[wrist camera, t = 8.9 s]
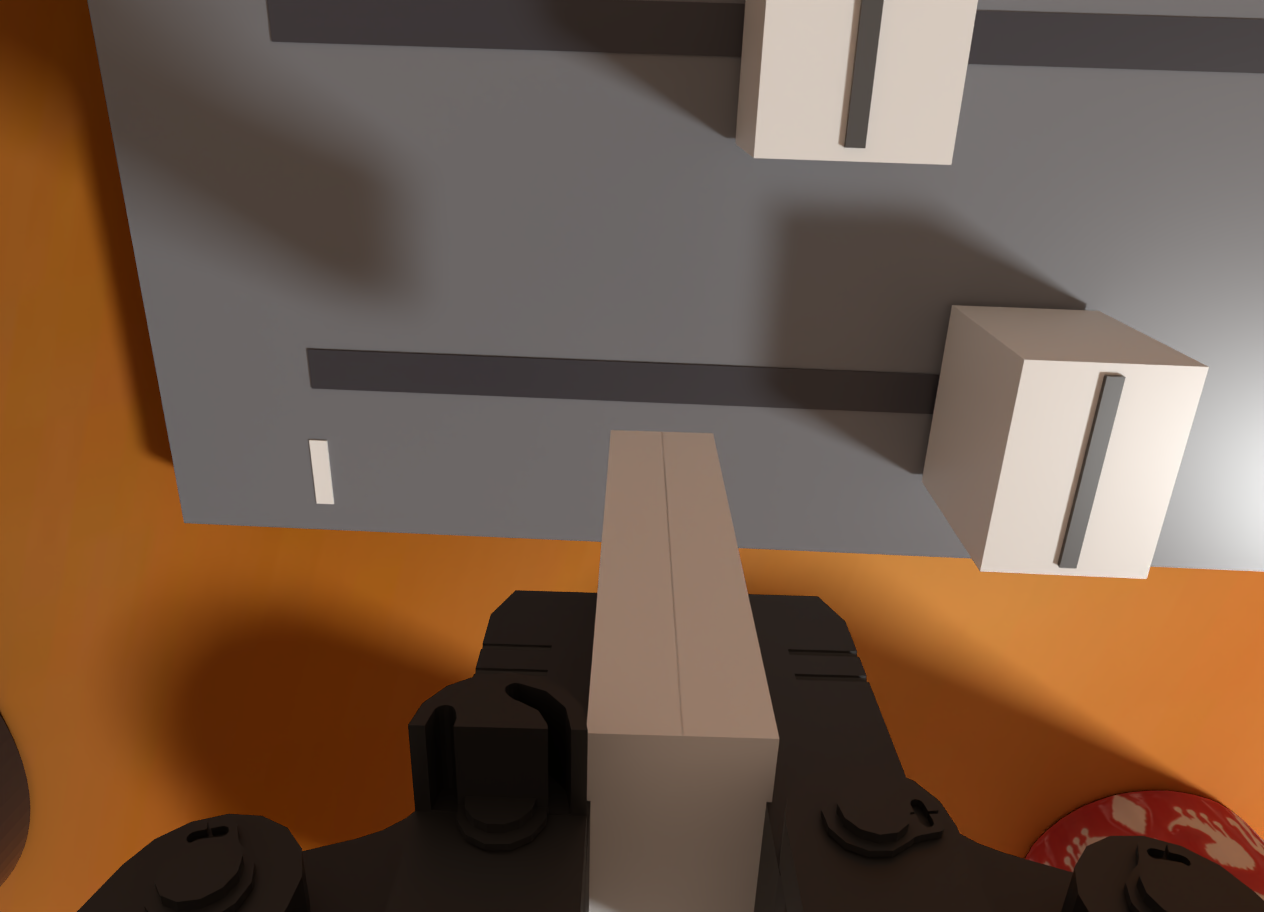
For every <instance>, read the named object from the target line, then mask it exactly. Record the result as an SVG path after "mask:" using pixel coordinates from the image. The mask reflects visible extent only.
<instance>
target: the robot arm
mask: <svg viewBox="0 0 1264 912" xmlns="http://www.w3.org/2000/svg"><path fill="white" fill-rule="evenodd" d="M408 729H409V741H410V753H411V765H412V777H413V789H414V801H415V812H413V813H412V814H411V815H410V816H408V817H407V818H405V819H404V820H402V821H400V822H398V823H396V824H394V825H392V826H390V827H388V828H386V829H384V830H382V831H379V832H376V833H373V834H370V835H367V836H364V837H361V838H357V839H354V840H349V841H345V842H341V843H336V844H332V845H328V846H323V847H319V848H315V849H311V850H306V851H302V848H301V847H300V845H299V844H298V843H297V841H296V840H295V838H294V837H293V835H292V834H291V832H290V831H289V829H288V828H287V827H285V826H282V825H280V824H278V823H276V822H274V821H272V820H270V819H267V818H265V817H263V816H255V815H239V814H226V815H221V816H217V817H212V818H207V819H203V820H198V821H193V822H190V823H188V824H186V825H184V826H182V827H180V828H178V829H175V830H173V831H171V832H169V833H167V834H165V835H163V836H161V837H159V838H156V839H154V840H153V841H152V842H151V843H149V844H148V845H147V846H146V847H144V848H143V849H142V850H141V851H139V852H138V853H137V854H136V855H134V856H133V857H132V858H131V859H129V860H128V861H127V862H126V863H124V864H123V865H122V866H121V867H120V868H119V869H118V870H117V871H116V872H115V873H114V874H113V875H112V876H111V877H110V878H109V879H108V880H107V881H106V882H105V883H104V884H103V885H102V887H101V888H100V889H99V890H98V891H97V892H96V893H95V894H94V895H93V896H92V897H91V898H90V899H89V900H88V901H87V902H86V903H85V904H84V905H83V906H82V907H81V908H80V909H79V910H78V911H77V912H1264V900H1263V899H1262V898H1261V897H1260V896H1259V895H1258V894H1256V893H1255V892H1254V891H1253V890H1252V889H1250V888H1249V887H1248V886H1246V885H1245V884H1244V883H1242V882H1241V881H1240V880H1239V879H1237V878H1236V877H1235V876H1233V875H1232V874H1231V873H1230V872H1228V871H1227V870H1226V869H1224V868H1223V867H1222V866H1220V865H1219V864H1217V863H1215V862H1213V861H1211V860H1209V859H1207V858H1205V857H1203V856H1201V855H1199V854H1197V853H1195V852H1193V851H1191V850H1189V849H1187V848H1185V847H1183V846H1180V845H1176V844H1173V843H1169V842H1165V841H1161V840H1157V839H1154V838H1150V837H1146V836H1109V837H1106V838H1104V839H1102V840H1100V841H1097V842H1095V843H1093V844H1090V845H1088V846H1086V848H1085V850H1084V851H1083V853H1082V855H1081V856H1080V858H1079V860H1078V862H1077V863H1076V865H1075V867H1074V871H1073V872H1070V871H1066V870H1063V869H1059V868H1055V867H1052V866H1048V865H1045V864H1041V863H1038V862H1034V861H1031V860H1027V859H1024V858H1020V857H1016V856H1013V855H1009V854H1006V853H1003V852H1000V851H997V850H995V849H992V848H989V847H986V846H984V845H981V844H978V843H976V842H974V841H973V840H971V839H969V838H967V837H965V836H963V835H962V834H960V833H959V831H958V829H957V826H956V825H955V823H954V822H953V820H952V819H951V817H950V816H949V814H948V813H947V811H946V810H945V808H944V807H943V806H942V804H941V803H940V801H939V800H937V799H936V798H935V797H934V796H932V795H931V794H930V793H928V792H927V791H926V790H925V789H923V788H922V787H921V786H920V785H918V784H917V783H916V782H914V781H913V780H910V779H908V778H906V776H905V774H904V771H903V768H902V766H901V763H900V761H899V758H898V756H897V753H896V750H895V748H894V745H893V743H892V740H891V738H890V735H889V732H888V730H887V727H886V725H885V722H884V720H883V717H882V715H881V712H880V709H879V707H878V704H877V702H876V699H875V697H874V694H873V691H872V689H871V686H870V684H869V682H867V681H866V673H865V671H864V668H863V666H862V663H861V661H860V658H859V657H857V650H856V648H855V645H854V643H853V640H852V637H851V635H850V632H849V630H848V627H847V625H846V622H845V621H844V620H843V619H842V618H841V617H840V616H839V615H837V614H836V613H835V612H834V611H833V610H832V609H831V608H830V607H829V606H828V605H827V604H826V603H825V602H823V601H822V600H821V599H820V598H819V597H818V596H786V595H753V594H748V592H747V587H746V583H745V578H744V573H743V569H742V564H741V560H740V555H739V550H738V546H737V541H736V537H735V532H734V527H733V523H732V518H731V514H730V509H729V504H728V500H727V495H726V491H725V486H724V481H723V477H722V472H721V468H720V463H719V458H718V454H717V449H716V445H715V440H714V435H713V433H687V432H655V431H623V430H611V435H610V447H609V459H608V471H607V484H606V496H605V508H604V520H603V532H602V545H601V557H600V569H599V581H598V593H584V592H551V591H517V590H516V591H515V592H514V593H513V594H511V595H510V596H509V597H508V598H507V599H506V600H505V601H504V602H503V603H502V604H501V605H500V606H499V607H498V608H497V609H496V610H495V611H494V612H493V613H492V614H491V616H490V619H489V623H488V627H487V630H486V634H485V637H484V641H483V648H482V649H481V651H480V655H479V658H478V662H477V666H476V674H474V676H473V677H472V678H469V679H466V680H463V681H460V682H457V683H455V684H452V685H449V686H446V687H445V688H444V689H442V690H441V691H439V692H438V693H436V694H435V695H434V696H432V697H431V698H429V699H428V700H426V701H425V702H424V703H422V705H421V706H420V708H419V709H418V711H417V712H416V714H415V716H414V717H413V719H412V720H411V722H410V723H409V725H408ZM29 822H30V798H29V789H28V783H27V778H26V774H25V770H24V766H23V763H22V760H21V757H20V755H19V752H18V749H17V747H16V745H15V742H14V740H13V738H12V736H11V734H10V732H9V730H8V728H7V726H6V724H5V722H4V720H3V719H2V717H1V716H0V886H1V885H2V884H3V883H4V881H5V880H6V879H7V878H8V876H9V875H10V874H11V872H12V871H13V869H14V868H15V866H16V864H17V862H18V860H19V858H20V856H21V854H22V851H23V849H24V846H25V842H26V839H27V835H28V829H29Z"/></svg>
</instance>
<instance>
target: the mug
mask: <svg viewBox="0 0 1264 912" xmlns="http://www.w3.org/2000/svg"><path fill="white" fill-rule="evenodd" d="M1109 836H1146V837H1150V838H1154V839H1157V840H1161V841H1165V842H1169V843H1173V844H1176V845H1180V846H1183V847H1185V848H1187V849H1189V850H1191V851H1193V852H1195V853H1197V854H1199V855H1201V856H1203V857H1205V858H1207V859H1209V860H1211V861H1213V862H1215V863H1217V864H1219V865H1220V866H1222V867H1223V868H1224V869H1226V870H1227V871H1228V872H1230V873H1231V874H1232V875H1233V876H1235V877H1236V878H1237V879H1239V880H1240V881H1241V882H1242V883H1244V884H1245V885H1246V886H1248V887H1249V888H1250V889H1252V890H1253V891H1254V892H1255V893H1256V894H1258V895H1259V896H1260V897H1261V898H1262V899H1263V900H1264V841H1263V840H1262V839H1261V838H1260V837H1259V836H1258V835H1257V834H1256V832H1255V831H1254V830H1253V829H1252V828H1251V827H1250V826H1249V825H1248V824H1247V823H1246V822H1245V821H1244V820H1242V819H1241V818H1240V817H1239V816H1237V815H1236V814H1235V813H1233V812H1232V811H1231V810H1229V809H1228V808H1226V807H1224V806H1222V805H1221V804H1219V803H1218V802H1215V801H1213V800H1211V799H1208V798H1204V797H1200V796H1197V795H1193V794H1188V793H1183V792H1176V791H1159V790H1158V791H1138V792H1129V793H1123V794H1118V795H1113V796H1110V797H1107V798H1104V799H1101V800H1098V801H1095V802H1092V803H1090V804H1087V805H1085V806H1083V807H1081V808H1079V809H1077V810H1075V811H1073V812H1072V813H1070V814H1069V815H1067V816H1065V817H1064V818H1062V819H1061V820H1059V821H1058V822H1057V823H1056V824H1054V825H1053V826H1052V827H1051V828H1049V829H1048V830H1047V831H1046V832H1045V833H1044V834H1043V835H1042V836H1041V837H1040V838H1039V839H1038V840H1037V841H1036V842H1035V843H1034V845H1033V846H1032V847H1031V849H1030V852H1029V853H1028V854H1027V856H1026V858H1025V859H1027V860H1031V861H1034V862H1038V863H1041V864H1045V865H1048V866H1052V867H1055V868H1059V869H1063V870H1066V871H1070V872H1073V871H1074V867H1075V865H1076V863H1077V862H1078V860H1079V858H1080V856H1081V855H1082V853H1083V851H1084V850H1085V848H1086V846H1088V845H1090V844H1093V843H1095V842H1097V841H1100V840H1102V839H1104V838H1106V837H1109Z"/></svg>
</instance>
